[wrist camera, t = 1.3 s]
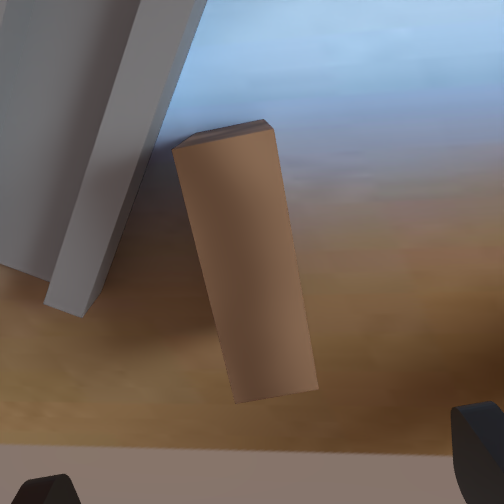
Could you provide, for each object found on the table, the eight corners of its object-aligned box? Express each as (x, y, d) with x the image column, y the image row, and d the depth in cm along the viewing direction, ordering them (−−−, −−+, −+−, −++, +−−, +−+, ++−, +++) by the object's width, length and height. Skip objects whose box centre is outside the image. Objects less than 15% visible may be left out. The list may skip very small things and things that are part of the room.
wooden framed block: (263, 118, 25) (273, 128, 17) (296, 304, 29) (318, 389, 21) (192, 133, 25) (166, 150, 17) (234, 316, 29) (231, 404, 21)
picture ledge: (250, -120, 21) (252, -161, 18) (100, 292, 28) (81, 318, 25) (49, -232, 20) (11, -297, 17) (-57, 233, 27) (-99, 252, 24)
